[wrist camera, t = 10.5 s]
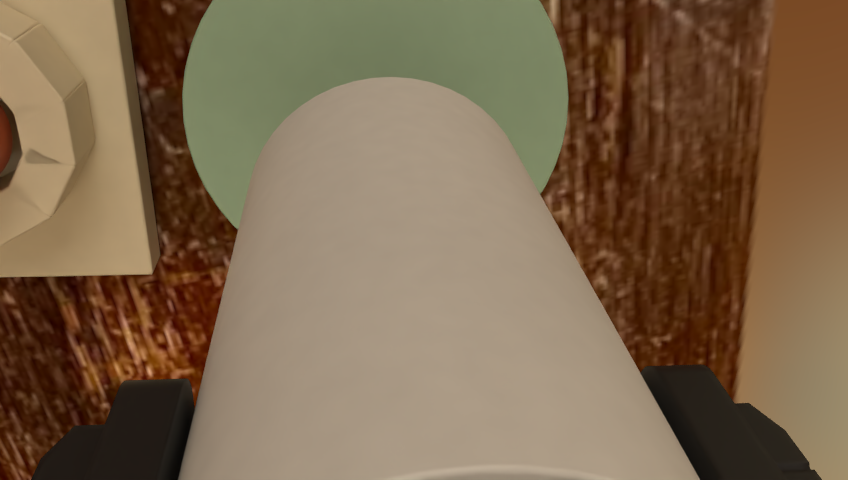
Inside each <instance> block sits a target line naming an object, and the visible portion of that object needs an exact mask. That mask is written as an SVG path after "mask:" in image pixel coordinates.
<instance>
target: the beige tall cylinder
mask: <svg viewBox="0 0 848 480" xmlns="http://www.w3.org/2000/svg"><path fill="white" fill-rule="evenodd" d="M178 480H700V479H699V477H698V475H697V473H696V472H695V470H694V468H693V466H692V465H691V463H690V461H689V459H688V457H687V456H686V454H685V452H684V450H683V448H682V447H681V445H680V443H679V441H678V440H677V438H676V436H675V434H674V432H673V431H672V429H671V427H670V425H669V424H668V422H667V420H666V418H665V416H664V415H663V413H662V411H661V409H660V407H659V406H658V404H657V402H656V400H655V399H654V397H653V395H652V393H651V391H650V390H649V388H648V386H647V384H646V383H645V381H644V379H643V377H642V375H641V374H640V372H639V370H638V368H637V366H636V365H635V363H634V361H633V359H632V358H631V356H630V354H629V352H628V350H627V349H626V347H625V345H624V343H623V342H622V340H621V338H620V336H619V334H618V333H617V331H616V329H615V327H614V325H613V324H612V322H611V320H610V318H609V317H608V315H607V313H606V311H605V309H604V308H603V306H602V304H601V302H600V301H599V299H598V297H597V295H596V293H595V292H594V290H593V288H592V286H591V284H590V283H589V281H588V279H587V277H586V276H585V274H584V272H583V270H582V268H581V267H580V265H579V263H578V261H577V260H576V258H575V256H574V254H573V252H572V251H571V249H570V247H569V245H568V243H567V242H566V240H565V238H564V236H563V235H562V233H561V231H560V229H559V227H558V226H557V224H556V222H555V220H554V219H553V217H552V215H551V213H550V211H549V210H548V208H547V206H546V204H545V202H544V201H543V199H542V197H541V195H540V194H539V192H538V190H537V188H536V186H535V185H534V183H533V181H532V179H531V178H530V176H529V174H528V172H527V170H526V169H525V167H524V165H523V163H522V161H521V160H520V158H519V156H518V154H517V153H516V151H515V149H514V147H513V146H512V144H511V142H510V141H509V139H508V137H507V136H506V134H505V133H504V131H503V130H502V129H501V128H500V126H499V125H498V124H497V123H496V121H495V120H494V119H493V118H492V117H491V116H489V115H488V114H487V113H486V112H485V111H484V110H483V109H482V108H481V107H479V106H478V105H476V104H475V103H474V102H472V101H471V100H469V99H468V98H466V97H465V96H463V95H461V94H459V93H457V92H455V91H453V90H451V89H449V88H446V87H443V86H440V85H437V84H434V83H432V82H427V81H422V80H417V79H413V78H401V77H380V78H369V79H364V80H358V81H353V82H350V83H347V84H343V85H340V86H337V87H334V88H332V89H330V90H328V91H326V92H323V93H321V94H319V95H317V96H315V97H314V98H312V99H311V100H309V101H307V102H306V103H304V104H303V105H301V106H300V107H299V108H297V109H296V110H295V111H294V112H293V113H292V114H290V115H289V116H288V117H287V118H286V119H285V120H284V121H283V122H282V123H281V124H280V125H279V126H278V128H277V129H276V130H275V131H274V132H273V133H272V135H271V136H270V138H269V139H268V141H267V142H266V144H265V145H264V147H263V149H262V151H261V153H260V155H259V157H258V159H257V161H256V163H255V166H254V170H253V173H252V176H251V179H250V183H249V187H248V191H247V196H246V200H245V204H244V208H243V212H242V216H241V220H240V224H239V229H238V233H237V237H236V241H235V245H234V249H233V253H232V258H231V262H230V266H229V270H228V274H227V278H226V282H225V286H224V291H223V295H222V299H221V303H220V307H219V311H218V315H217V320H216V324H215V328H214V332H213V336H212V340H211V344H210V348H209V353H208V357H207V361H206V365H205V369H204V373H203V377H202V382H201V386H200V390H199V394H198V398H197V402H196V406H195V410H194V415H193V419H192V423H191V427H190V431H189V435H188V439H187V444H186V448H185V452H184V456H183V460H182V464H181V468H180V472H179V477H178Z"/></svg>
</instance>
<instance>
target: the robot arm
mask: <svg viewBox="0 0 848 480" xmlns="http://www.w3.org/2000/svg"><path fill="white" fill-rule="evenodd" d="M640 374H641V375H642V377H643V379H644V381H645V383H646V384H647V386H648V388H649V390H650V391H651V393H652V395H653V397H654V399H655V400H656V402H657V404H658V406H659V407H660V409H661V411H662V413H663V415H664V416H665V418H666V420H667V422H668V424H669V425H670V427H671V429H672V431H673V432H674V434H675V436H676V438H677V440H678V441H679V443H680V445H681V447H682V448H683V450H684V452H685V454H686V456H687V457H688V459H689V461H690V463H691V465H692V466H693V468H694V470H695V472H696V473H697V475H698V477H699V479H700V480H822V479H821V478H820V477H819V475H818V474H817V472H816V471H815V470H811V469H810V467H809V462H808V461H807V459H806V458H805V456H804V455H803V454H802V452H801V451H800V450H799V448H798V447H797V446H796V444H795V443H794V442H793V440H792V439H791V438H790V436H789V435H788V434H787V432H786V431H785V430H784V429H783V428H781V427H780V426H779V425H777V424H776V423H775V422H773V421H772V420H771V419H769V418H768V417H767V416H765V415H764V414H763V413H761V412H760V411H759V410H757V409H756V408H755V407H753V406H752V405H751V404H749V403H739V404H735V403H734V402H733V401H732V399H731V398H730V396H729V395H728V393H727V392H726V391H725V389H724V388H723V386H722V385H721V383H720V382H719V380H718V379H717V378H716V376H715V375H714V373H713V372H712V371H711V370H710V369H709V368H708V367H707V366H705V365H672V366H647V367H645V368H644V369H643V370H642V372H641V373H640ZM194 410H195V409H194V401H193V394H192V388H191V384H190V381H189V380H188V379H161V380H128V381H124V382H123V383H122V384H121V385H120V387H119V390H118V392H117V395H116V397H115V400H114V402H113V405H112V408H111V410H110V413H109V415H108V418H107V420H106V423H105V425H83V426H74V427H73V428H72V429H71V430H70V431H69V432H68V433H67V434H66V435H65V436H64V437H63V438H62V439H61V440H60V441H59V442H58V443H57V444H56V445H54V446H53V447H52V448H51V449H50V450H49V451H48V452H47V453H46V454H45V455H44V456H43V457H42V458H41V460H40V462H39V464H38V466H37V468H36V470H35V473H34V475H33V477H32V479H31V480H178V477H179V472H180V468H181V464H182V460H183V456H184V452H185V448H186V444H187V439H188V435H189V431H190V427H191V423H192V419H193V415H194Z"/></svg>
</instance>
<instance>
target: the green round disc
mask: <svg viewBox="0 0 848 480" xmlns="http://www.w3.org/2000/svg"><path fill="white" fill-rule="evenodd" d="M380 77H401V78H413V79H417V80H422V81H427V82H432V83H434V84H437V85H440V86H443V87H446V88H449V89H451V90H453V91H455V92H457V93H459V94H461V95H463V96H465V97H466V98H468V99H469V100H471V101H472V102H474V103H475V104H476V105H478V106H479V107H481V108H482V109H483V110H484V111H485V112H486V113H487V114H488V115H489V116H491V117H492V118H493V119H494V120H495V121H496V123H497V124H498V125H499V126H500V128H501V129H502V130H503V131H504V133H505V134H506V136H507V137H508V139H509V141H510V142H511V144H512V146H513V147H514V149H515V151H516V153H517V154H518V156H519V158H520V160H521V161H522V163H523V165H524V167H525V169H526V170H527V172H528V174H529V176H530V178H531V179H532V181H533V183H534V185H535V186H536V188H537V190H538V192H539V194H541V192H542V191H543V189H544V188H545V186H546V184H547V182H548V180H549V178H550V175H551V173H552V171H553V169H554V167H555V165H556V162H557V159H558V156H559V153H560V150H561V147H562V144H563V139H564V134H565V128H566V123H567V112H568V84H567V72H566V68H565V63H564V58H563V53H562V49H561V46H560V43H559V41H558V38H557V35H556V32H555V29H554V27H553V25H552V23H551V21H550V19H549V17H548V15H547V13H546V11H545V9H544V7H543V5H542V4H541V2H540V1H539V0H213V1H212V2H211V4H210V6H209V7H208V9H207V11H206V12H205V14H204V16H203V18H202V19H201V21H200V24H199V26H198V29H197V31H196V34H195V36H194V39H193V41H192V43H191V47H190V51H189V55H188V59H187V63H186V67H185V73H184V83H183V93H182V100H183V121H184V126H185V132H186V137H187V143H188V146H189V149H190V152H191V156H192V159H193V162H194V165H195V168H196V170H197V172H198V174H199V176H200V178H201V180H202V182H203V184H204V186H205V188H206V190H207V191H208V193H209V194H210V196H211V197H212V199H213V201H214V202H215V204H216V205H217V207H218V208H219V209H220V211H221V212H222V213H223V214H224V215H225V216H226V218H227V219H228V220H229V221H230V222H231V223H232V225H233V226H234V227H235V228H236V229H237V230H238V229H239V224H240V220H241V216H242V212H243V208H244V204H245V200H246V196H247V191H248V187H249V183H250V179H251V176H252V173H253V170H254V166H255V163H256V161H257V159H258V157H259V155H260V153H261V151H262V149H263V147H264V145H265V144H266V142H267V141H268V139H269V138H270V136H271V135H272V133H273V132H274V131H275V130H276V129H277V128H278V126H279V125H280V124H281V123H282V122H283V121H284V120H285V119H286V118H287V117H288V116H289V115H290V114H292V113H293V112H294V111H295V110H296V109H297V108H299V107H300V106H301V105H303V104H304V103H306V102H307V101H309V100H311V99H312V98H314V97H315V96H317V95H319V94H321V93H323V92H326V91H328V90H330V89H332V88H334V87H337V86H340V85H343V84H347V83H350V82H353V81H358V80H364V79H369V78H380Z"/></svg>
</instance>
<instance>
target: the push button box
mask: <svg viewBox="0 0 848 480" xmlns="http://www.w3.org/2000/svg"><path fill="white" fill-rule="evenodd" d="M0 105H1V106H2V108H3V110H4V111H5V113H6V116H7V118H8V120H9V123H10V127H11V131H12V138H13V146H12V152H11V156H10V159H9V161H8V163H7V165H6V167H5V169H4V170H3V171H2V172H1V174H0V277H41V276H99V275H151V274H153V272H154V269H155V267H156V264H157V262H158V259H159V257H160V248H159V241H158V234H157V226H156V219H155V212H154V205H153V197H152V190H151V183H150V176H149V168H148V161H147V154H146V147H145V140H144V132H143V125H142V118H141V111H140V103H139V96H138V89H137V82H136V74H135V67H134V60H133V53H132V45H131V38H130V31H129V24H128V17H127V9H126V2H125V0H0Z"/></svg>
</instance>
